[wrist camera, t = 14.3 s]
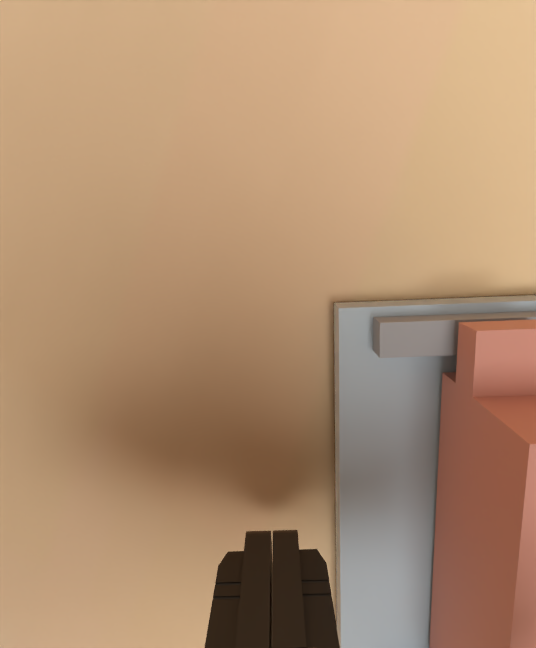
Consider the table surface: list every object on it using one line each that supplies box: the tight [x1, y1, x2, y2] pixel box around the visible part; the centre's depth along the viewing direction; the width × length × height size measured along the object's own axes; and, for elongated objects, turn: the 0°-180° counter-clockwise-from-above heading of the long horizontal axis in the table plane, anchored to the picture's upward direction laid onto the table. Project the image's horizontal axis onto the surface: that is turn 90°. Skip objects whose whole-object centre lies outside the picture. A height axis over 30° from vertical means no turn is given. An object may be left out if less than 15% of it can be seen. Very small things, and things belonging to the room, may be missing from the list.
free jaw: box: [429, 319, 536, 648], centre depth 11 cm, size 2×13×4 cm, turn 3°
